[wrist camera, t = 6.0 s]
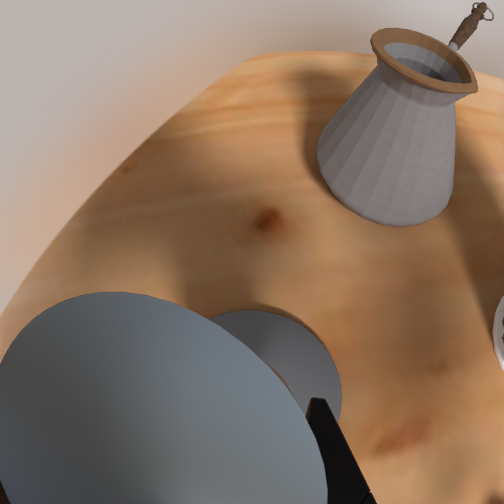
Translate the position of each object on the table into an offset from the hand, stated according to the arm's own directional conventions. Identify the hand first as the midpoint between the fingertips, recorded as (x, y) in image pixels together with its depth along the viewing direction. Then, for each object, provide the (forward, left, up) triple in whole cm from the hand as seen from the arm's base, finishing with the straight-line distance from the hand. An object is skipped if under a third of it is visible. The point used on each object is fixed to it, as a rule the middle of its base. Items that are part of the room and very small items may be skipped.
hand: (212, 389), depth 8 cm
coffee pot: (+22, -9, -12) cm, 26 cm away
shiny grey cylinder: (-1, 0, -7) cm, 7 cm away
